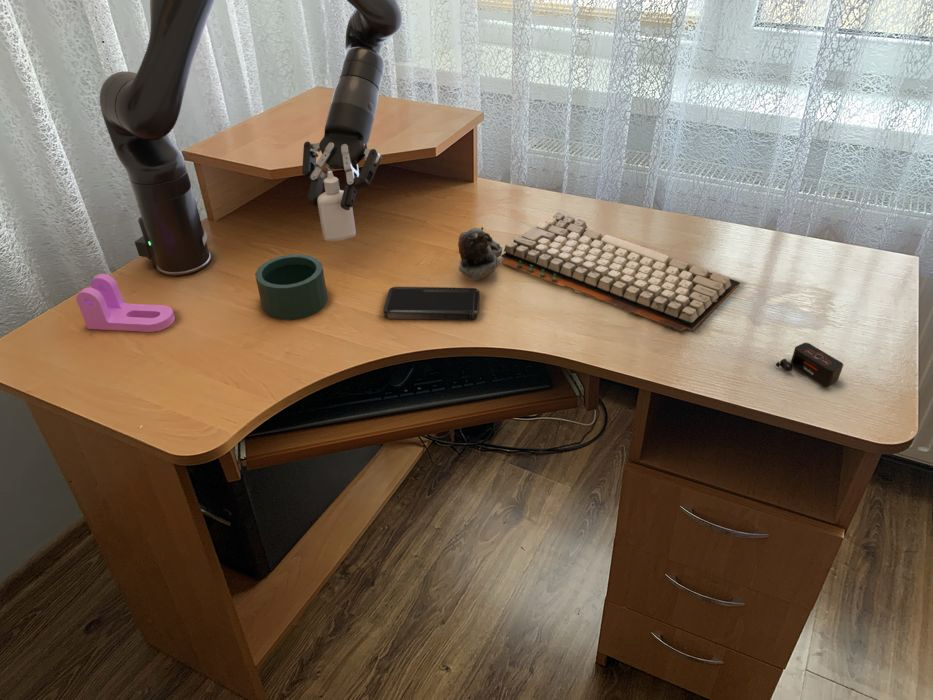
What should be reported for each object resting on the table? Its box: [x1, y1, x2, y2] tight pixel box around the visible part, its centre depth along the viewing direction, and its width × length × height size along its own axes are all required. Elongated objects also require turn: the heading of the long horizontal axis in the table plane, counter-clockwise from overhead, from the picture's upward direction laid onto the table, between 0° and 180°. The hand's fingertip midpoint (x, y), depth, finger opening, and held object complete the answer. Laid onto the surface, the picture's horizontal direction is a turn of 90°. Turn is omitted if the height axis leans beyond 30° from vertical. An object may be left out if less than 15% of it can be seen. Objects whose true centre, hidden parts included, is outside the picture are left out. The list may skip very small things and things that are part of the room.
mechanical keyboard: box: [500, 211, 741, 332], centre depth 126 cm, size 38×19×3 cm, turn 51°
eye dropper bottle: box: [317, 171, 357, 242], centre depth 124 cm, size 4×6×12 cm
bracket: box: [75, 273, 176, 333], centre depth 116 cm, size 13×6×7 cm, turn 83°
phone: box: [383, 286, 480, 321], centre depth 119 cm, size 8×1×15 cm
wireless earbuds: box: [775, 342, 844, 388], centre depth 102 cm, size 5×7×3 cm, turn 31°
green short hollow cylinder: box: [254, 253, 328, 321], centre depth 120 cm, size 11×11×6 cm
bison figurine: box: [457, 226, 503, 281], centre depth 125 cm, size 12×7×10 cm, turn 173°
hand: (328, 206), depth 122 cm, fingers closed on eye dropper bottle, 5 cm apart
